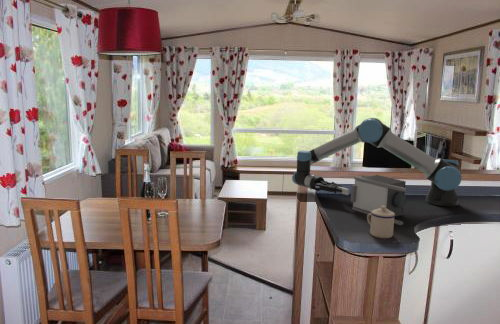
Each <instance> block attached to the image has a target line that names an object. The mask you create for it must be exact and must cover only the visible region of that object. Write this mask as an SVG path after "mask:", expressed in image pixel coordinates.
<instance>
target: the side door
mask: <svg viewBox="0 0 500 324" xmlns="http://www.w3.org/2000/svg"><path fill="white" fill-rule="evenodd" d="M387 194H388V188H387V187H383V186H379V185H375V184H371V183H367V182H363V181H359V180H355V179H354V184H353V185H351V190H350V203H352V207H357V208H360V209H363V210H366V211H369V212H371V211H372V210H375V209H378V208H381V206H387Z"/></svg>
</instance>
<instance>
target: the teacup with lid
mask: <svg viewBox="0 0 500 324" xmlns="http://www.w3.org/2000/svg"><path fill="white" fill-rule="evenodd" d="M394 219H395V213H394V212H392V211H390V210H388V209H386V206H381V208H378V209H375V210H372V211H371V213H369V214H366V220H367V223H368V225H370V228H369V234H370V235H371V236H373V237H376V238H380V239H390V238H393V236H394V226H395V223H394Z"/></svg>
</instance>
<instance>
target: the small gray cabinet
mask: <svg viewBox="0 0 500 324" xmlns="http://www.w3.org/2000/svg"><path fill="white" fill-rule="evenodd" d="M366 176H367V177H362V176H354V181H355V180H359V181H363V182H367V183H371V184H375V185H379V186H383V187H387V188H388V194H387V206H386V209H388V210H390V211H392V212H394V213H395V217H401V216H404V214H403V212H404V206H405V204H406V200H407V197H406V194H405V192H407V188H406V181H405V180H402V179H401V180H400V179H396V178H393V177H388V176H383V175H379V174H376V175H375V174H374V175H366ZM351 208H352V210H353V211H356V212H358V213H362V214H365V215H368V214H369V213H371V212H369V211H366V210H363V209H360V208H357V207H354V206H352V207H351ZM395 217H394V225H398V226H402V225H404V221H401V220H398V219H395Z"/></svg>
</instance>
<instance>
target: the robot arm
mask: <svg viewBox="0 0 500 324" xmlns="http://www.w3.org/2000/svg"><path fill="white" fill-rule="evenodd" d="M358 143H359V144H360V143H367V144H368V143H369V144H371V145H372V146H374V147H376V148H383V149H384V150H386V151H388V152H389V153H391V154H392V155H394V156H396V157H397V158H399V159H401V160H402V161H404V162H406V163H407V164H409V165H410V166H412V167H413V168H415V169H417V170H418V171H420V172H422V174H424V175H425V176H424V177H425V178H426V179H427V180H429V181H430V182H431V183H430V188H429V190H428V192H427V194H426V197H425V202H426V203H428V204H431V205H435V206H439V207H457V206H458V205H459V199H458V195H457V188H458V187H459V186H460V184H461V183H462V179H463V178H462V173H461V171H460V169H459V165H460V164H459V161H458V160H457V159H456V160H455V159H444V158H443V159H442V158H434V157H433V156H431V155H430V154H427V153H426V152H424V151H423V150H421V149H419V148H418V147H416V146H414V145H413V144H411V143H409V142H408V141H406V140H405V139H403V138H401V136H398V135H396V134H394V132H392V129H391V127H389V126H388V125H386V124H384V123H383V122H382V121H381V119H379V118H375V117H370V118H366V119H364V120H363V121H361V123H360V124H359V125H357V126H355V127H354V129H352V130H351V131H348V132H346V133H344V134H342V135H340V136H338V137H336V138H333V139H331V140H330V141H326V142H325V143H323V144H321V145H319V146H317V147H314V148H313V149H311V150H299V151H298V152H297V155H296V171H294V172H293V174H292V177H291V179H292V182H293V183H294V184H295V185H298V186H301V187H304V188H308V189H309V190H314V191H317V192H320V191H324V192H328V193H334V194H337V193H340V194H342V195H346V196H349V195H350V188H346V187H343V185H341V184H338V183H336V182H334V181H331V182H329V181H327V180H325V179H324V178H323V177H322V176H318V175H316V174H311V165H313V164H317V162H320V161H322V160H323V159H326V158H328V157H330V156H333V155H335V154H337V153H339V152H342V151H343V150H346V149H348V148H350V147H353V146H355V145H356V144H357V145H358Z"/></svg>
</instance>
